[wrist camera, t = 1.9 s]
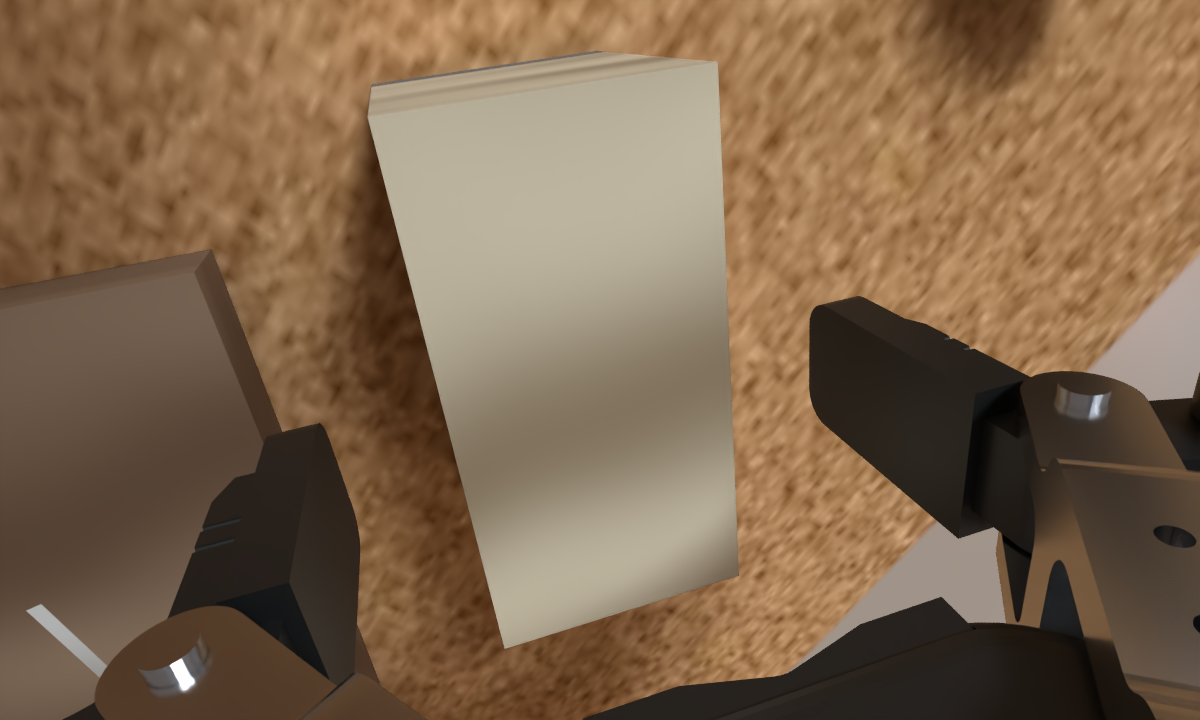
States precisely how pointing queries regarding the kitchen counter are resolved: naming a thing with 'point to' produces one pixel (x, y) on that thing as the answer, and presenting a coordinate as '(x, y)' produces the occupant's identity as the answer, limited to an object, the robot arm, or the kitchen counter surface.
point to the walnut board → (113, 463)
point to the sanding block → (574, 321)
